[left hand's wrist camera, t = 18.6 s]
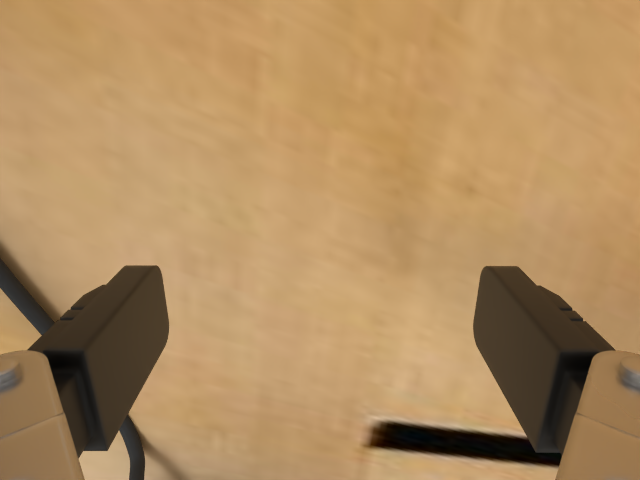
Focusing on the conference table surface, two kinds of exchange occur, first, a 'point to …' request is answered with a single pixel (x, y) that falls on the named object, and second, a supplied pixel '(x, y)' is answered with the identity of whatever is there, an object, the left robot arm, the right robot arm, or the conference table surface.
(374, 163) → the conference table surface
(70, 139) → the conference table surface
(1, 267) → the left robot arm
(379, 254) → the conference table surface
